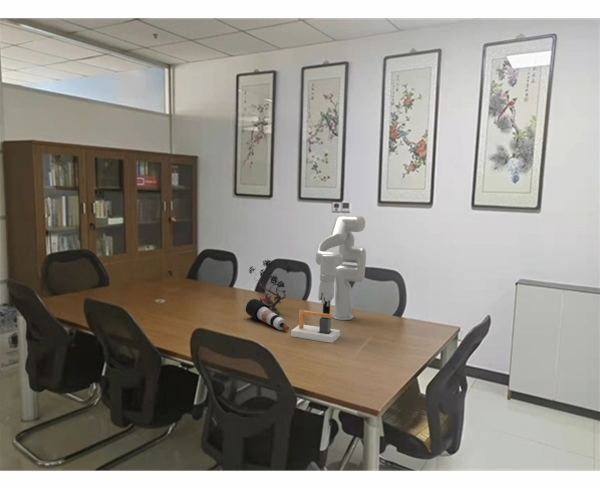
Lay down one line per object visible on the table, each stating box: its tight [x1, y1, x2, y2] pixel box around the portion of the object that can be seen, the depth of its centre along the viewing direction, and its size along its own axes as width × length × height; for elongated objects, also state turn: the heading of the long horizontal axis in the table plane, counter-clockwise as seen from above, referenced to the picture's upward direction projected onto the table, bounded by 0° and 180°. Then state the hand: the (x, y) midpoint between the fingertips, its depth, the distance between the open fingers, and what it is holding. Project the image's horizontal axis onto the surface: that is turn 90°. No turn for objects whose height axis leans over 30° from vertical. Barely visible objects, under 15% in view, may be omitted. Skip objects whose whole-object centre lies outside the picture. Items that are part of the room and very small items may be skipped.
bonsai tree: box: [248, 259, 293, 315], centre depth 284 cm, size 35×24×32 cm
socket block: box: [290, 324, 341, 344], centre depth 237 cm, size 12×22×4 cm, turn 67°
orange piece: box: [298, 309, 333, 328], centre depth 237 cm, size 17×2×9 cm, turn 67°
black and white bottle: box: [245, 298, 290, 331], centre depth 258 cm, size 10×34×10 cm, turn 35°
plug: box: [319, 317, 332, 334], centre depth 235 cm, size 4×4×10 cm
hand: (326, 313), depth 239 cm, fingers closed
